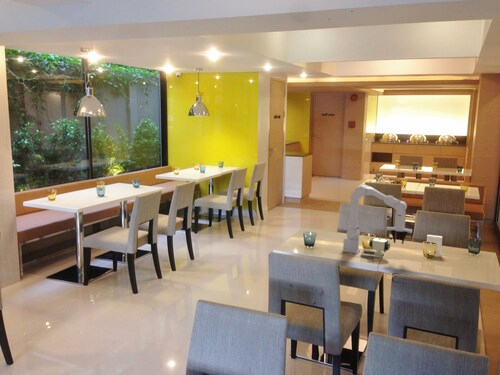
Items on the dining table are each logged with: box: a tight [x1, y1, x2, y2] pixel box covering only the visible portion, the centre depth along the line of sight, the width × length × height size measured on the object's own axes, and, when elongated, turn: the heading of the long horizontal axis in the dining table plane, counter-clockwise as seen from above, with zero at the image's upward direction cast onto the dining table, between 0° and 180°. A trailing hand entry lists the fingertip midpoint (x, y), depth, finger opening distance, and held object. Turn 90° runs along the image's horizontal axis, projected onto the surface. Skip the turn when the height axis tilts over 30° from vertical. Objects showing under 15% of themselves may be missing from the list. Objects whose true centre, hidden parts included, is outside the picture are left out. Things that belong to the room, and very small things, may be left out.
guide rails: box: [360, 249, 376, 259], centre depth 283 cm, size 8×11×2 cm
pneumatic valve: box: [368, 237, 391, 259], centre depth 280 cm, size 6×12×12 cm, turn 54°
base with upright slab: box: [426, 234, 443, 257], centre depth 287 cm, size 9×9×12 cm
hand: (398, 243), depth 275 cm, fingers open, 4 cm apart
